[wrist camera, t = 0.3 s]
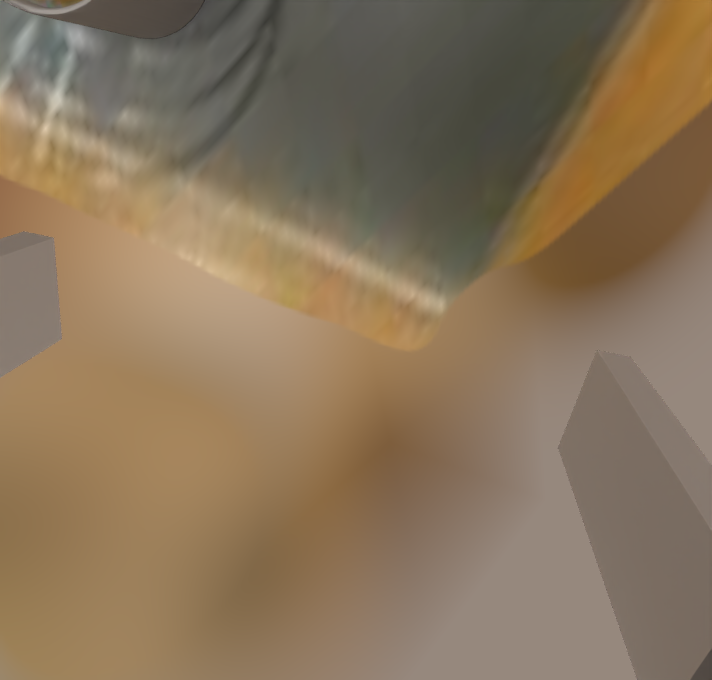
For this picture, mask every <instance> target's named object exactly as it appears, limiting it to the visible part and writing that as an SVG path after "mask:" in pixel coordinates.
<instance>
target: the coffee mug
mask: <svg viewBox="0 0 712 680" xmlns="http://www.w3.org/2000/svg"><path fill="white" fill-rule="evenodd" d="M3 1H5V2H7V3H9V4H10V5H12V6H14V7H16V8H19V9H21V10H24V11H26V12H29V13H32V14H36V15H40V16H44V17H49V18H53V19H57V20H62V21H66V22H71V23H75V24H80V25H84V26H88V27H93V28H97V29H102V30H106V31H110V32H115V33H119V34H124V35H128V36H133V37H137V38H145V39H154V38H161V37H165V36H168V35H170V34H172V33H175V32H177V31H178V30H180V29H181V28H182V27H184V26H185V25H186V24H187V23H188V22H190V21H191V20H192V19H193V17H194V16H195V15H196V14H197V12H198V11H199V9H200V7H201V6H202V4H203V2H204V0H3Z"/></svg>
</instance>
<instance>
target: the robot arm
mask: <svg viewBox="0 0 712 680" xmlns="http://www.w3.org/2000/svg"><path fill="white" fill-rule="evenodd" d="M55 260H56V259H55V247H54V238H53V237H48V236H44V235H38V234H34V233H29V232H21V233H18V234H15V235H11V236H8V237H5V238H2V239H0V377H2V376H4V375H5V374H7V373H8V372H10V371H12V370H13V369H15V368H16V367H18V366H20V365H21V364H23V363H24V362H26V361H28V360H29V359H31V358H32V357H34V356H35V355H37V354H39V353H40V352H42V351H44V350H45V349H47V348H48V347H50V346H51V345H53V344H55V343H56V342H58V341H59V340H61V339H62V334H61V322H60V309H59V298H58V285H57V272H56V261H55ZM558 449H559V452H560V455H561V458H562V461H563V464H564V467H565V469H566V473H567V476H568V478H569V481H570V484H571V487H572V490H573V493H574V496H575V499H576V502H577V505H578V508H579V511H580V514H581V516H582V520H583V523H584V526H585V528H586V531H587V534H588V537H589V540H590V543H591V546H592V549H593V552H594V555H595V558H596V561H597V563H598V567H599V569H600V572H601V575H602V578H603V581H604V584H605V587H606V590H607V593H608V596H609V599H610V601H611V605H612V608H613V610H614V613H615V616H616V619H617V622H618V625H619V628H620V631H621V634H622V637H623V640H624V642H625V645H626V648H627V651H628V654H629V657H630V660H631V663H632V666H633V669H634V672H635V675H636V678H637V680H712V465H711V463H710V462H709V461H708V459H707V458H706V457H705V455H704V454H703V453H702V451H701V450H700V449H699V447H698V446H697V445H696V443H695V442H694V441H693V439H692V438H691V437H690V435H689V434H688V433H687V431H686V430H685V429H684V428H683V426H682V425H681V423H680V422H679V421H678V419H677V418H676V417H675V415H674V414H673V413H672V411H671V410H670V409H669V407H668V406H667V405H666V403H665V402H664V401H663V399H662V398H661V397H660V395H659V394H658V393H657V391H656V390H655V389H654V388H653V386H652V385H651V384H650V382H649V381H648V379H647V378H646V377H645V375H644V374H643V373H642V371H641V370H640V368H639V367H638V366H637V364H636V363H635V362H634V360H633V359H632V358H631V357H628V356H623V355H619V354H614V353H609V352H605V351H600V350H597V351H596V353H595V356H594V359H593V361H592V363H591V366H590V368H589V371H588V374H587V376H586V378H585V381H584V383H583V386H582V388H581V391H580V394H579V396H578V399H577V401H576V404H575V406H574V409H573V411H572V414H571V416H570V419H569V421H568V424H567V426H566V429H565V431H564V434H563V436H562V439H561V441H560V444H559V446H558Z"/></svg>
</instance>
